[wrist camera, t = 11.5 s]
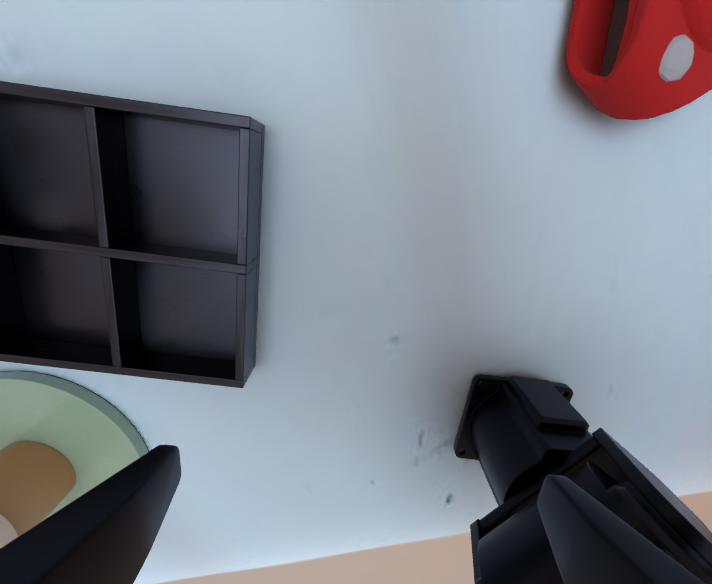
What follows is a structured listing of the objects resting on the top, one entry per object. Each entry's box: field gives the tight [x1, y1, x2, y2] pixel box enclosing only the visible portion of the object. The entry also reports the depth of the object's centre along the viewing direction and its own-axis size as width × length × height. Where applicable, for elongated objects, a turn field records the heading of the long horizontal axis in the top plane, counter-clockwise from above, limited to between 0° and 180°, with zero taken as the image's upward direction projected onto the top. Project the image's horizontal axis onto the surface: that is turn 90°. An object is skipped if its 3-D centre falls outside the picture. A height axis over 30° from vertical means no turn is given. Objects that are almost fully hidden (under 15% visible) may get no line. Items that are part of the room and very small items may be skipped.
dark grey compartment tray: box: [0, 81, 265, 388], centre depth 18 cm, size 14×21×2 cm
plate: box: [0, 371, 148, 519], centre depth 24 cm, size 15×15×1 cm
